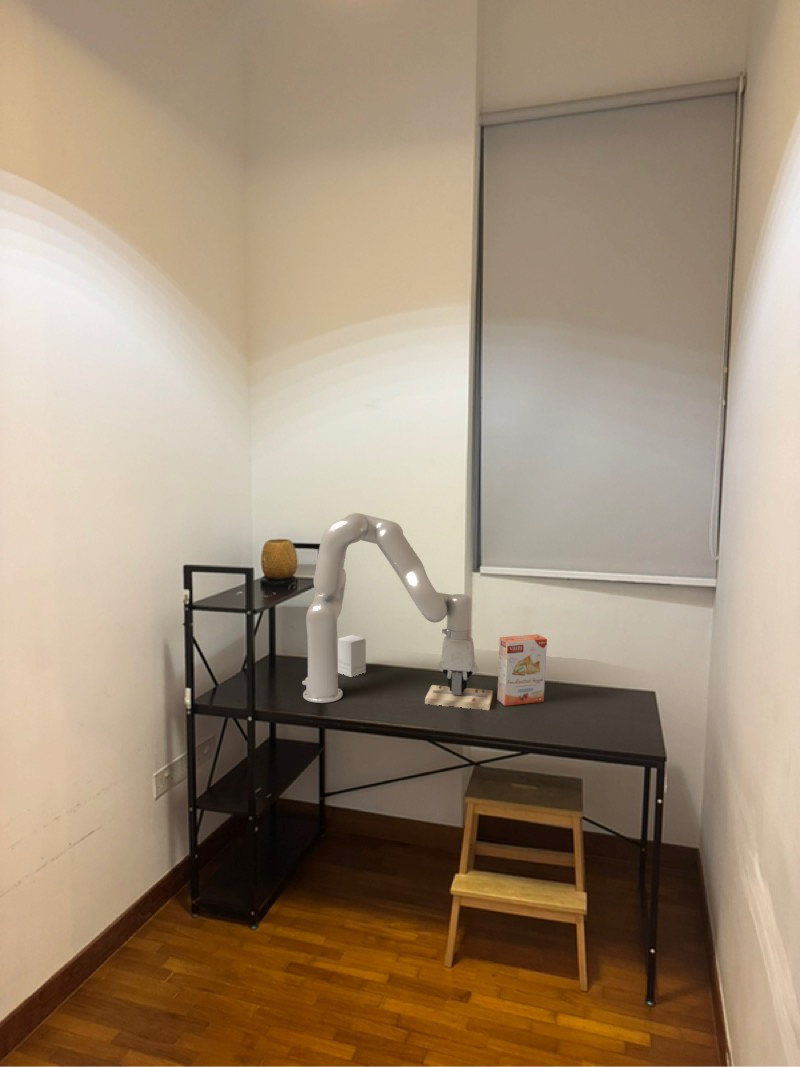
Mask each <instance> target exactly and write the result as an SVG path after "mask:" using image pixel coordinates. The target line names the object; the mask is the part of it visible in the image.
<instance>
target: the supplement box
mask: <svg viewBox="0 0 800 1067" xmlns="http://www.w3.org/2000/svg"><path fill="white" fill-rule="evenodd" d="M366 641H367V640H366V637H362V636H357V635H355V634H350V635H346V636H342V637H339V638H338V674H340V675H343V674H344V675H343V676H346V677H349V678H353V676H354V677H357V676H360V675H359V674H361V675H363V674H362V673H364V674H366V672H367V669H366V667H367V666H366V665H367V664H366V661H367V660H366V654H367V653H366V651H367V650H366V644H367V642H366ZM356 675H357V676H356Z"/></svg>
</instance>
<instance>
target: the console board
mask: <svg viewBox="0 0 800 1067" xmlns="http://www.w3.org/2000/svg"><path fill="white" fill-rule="evenodd" d="M493 693H494V691H493V690H491V689H480V688H479V689H478V688H468V687H467V688H466V689H465V690H464V692H462V694H461V695H455V694H452V691H450V687H448V685H445V686H444V685H435V684H432V685H431V686H430V688H429V690H428V692H427V694H426V695H425V697H424V705H428V704H430V705H431V706H439V705H442V707H449V706H454V707H453V708H460V707H462V708H463V709H470V708H471V709H473V710H481V709H482V711H483V710H484V711H490V708H491V704H492V701H493V697H494V695H493ZM430 705H429V706H430Z"/></svg>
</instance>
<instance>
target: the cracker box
mask: <svg viewBox="0 0 800 1067" xmlns="http://www.w3.org/2000/svg"><path fill="white" fill-rule="evenodd" d="M547 645H548V639H547V638H546V637H544V636H541V635H540V634H539V633H537V634H527V635H513V636H501V637H499V651H498V670H497V671H498V674H497V697H496V700H497V701H498V702H499V703H501V704H502V705H503V706H505V707H507V706H515V705H516V706H517V705H523V704H524V705H525V704H532V703H543V702H544V701H545V700H544V698H545V682H546V664H547V647H548V646H547Z"/></svg>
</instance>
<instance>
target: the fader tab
mask: <svg viewBox="0 0 800 1067" xmlns="http://www.w3.org/2000/svg"><path fill="white" fill-rule="evenodd" d="M462 678H463V671H453V672H452V694H455V695H461V694H462V692H461V689H462Z"/></svg>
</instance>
